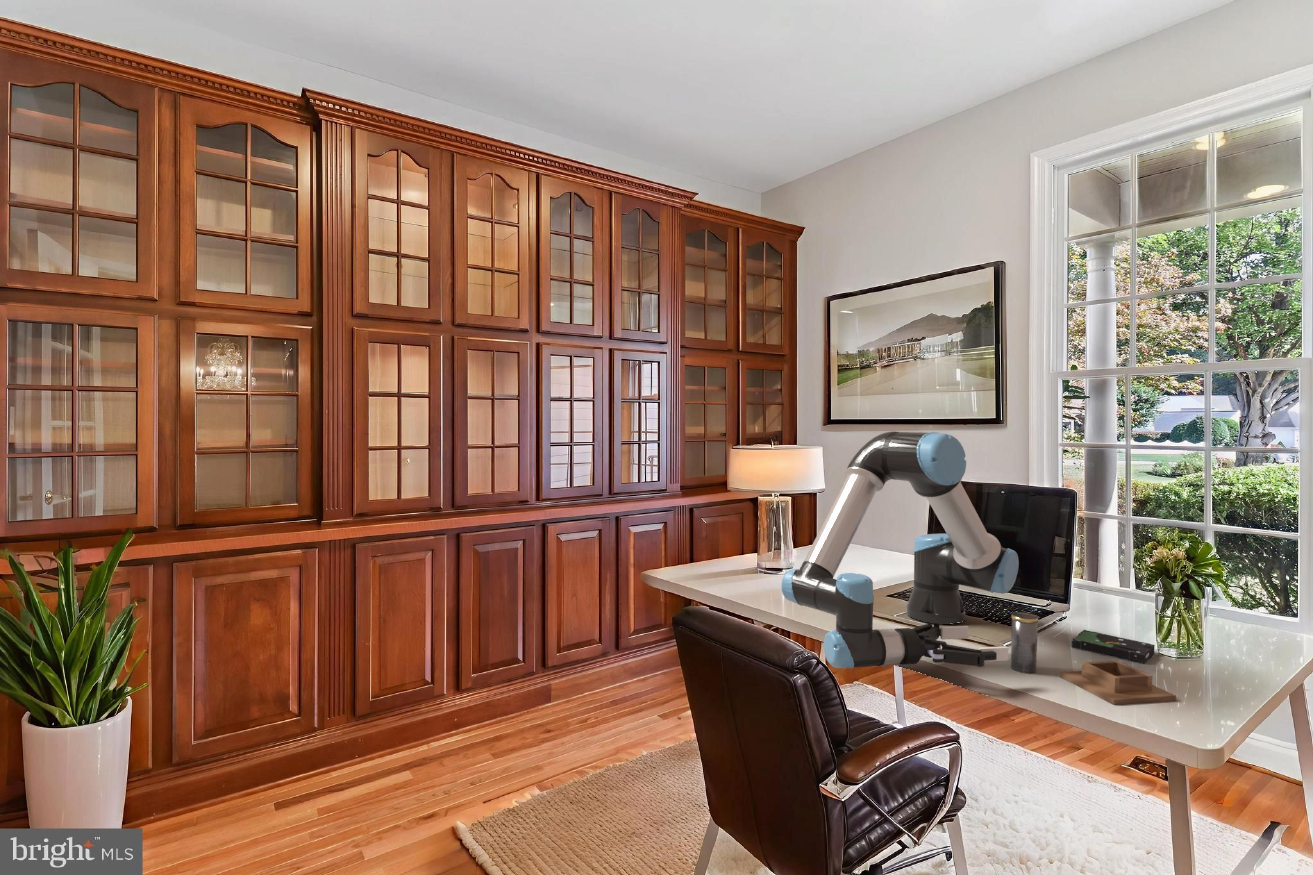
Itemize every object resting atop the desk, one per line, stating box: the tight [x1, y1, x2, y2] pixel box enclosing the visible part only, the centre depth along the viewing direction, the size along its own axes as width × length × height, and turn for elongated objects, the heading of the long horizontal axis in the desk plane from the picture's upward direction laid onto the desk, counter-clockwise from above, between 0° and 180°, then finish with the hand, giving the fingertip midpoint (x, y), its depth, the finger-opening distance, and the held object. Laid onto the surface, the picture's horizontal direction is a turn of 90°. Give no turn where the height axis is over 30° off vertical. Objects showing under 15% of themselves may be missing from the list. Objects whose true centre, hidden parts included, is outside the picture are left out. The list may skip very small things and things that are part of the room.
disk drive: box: [1071, 629, 1155, 665], centre depth 161 cm, size 10×3×15 cm
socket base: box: [1059, 660, 1177, 706], centre depth 139 cm, size 14×14×4 cm
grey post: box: [1010, 611, 1039, 675], centre depth 149 cm, size 5×5×12 cm
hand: (986, 642), depth 147 cm, fingers open, 13 cm apart
